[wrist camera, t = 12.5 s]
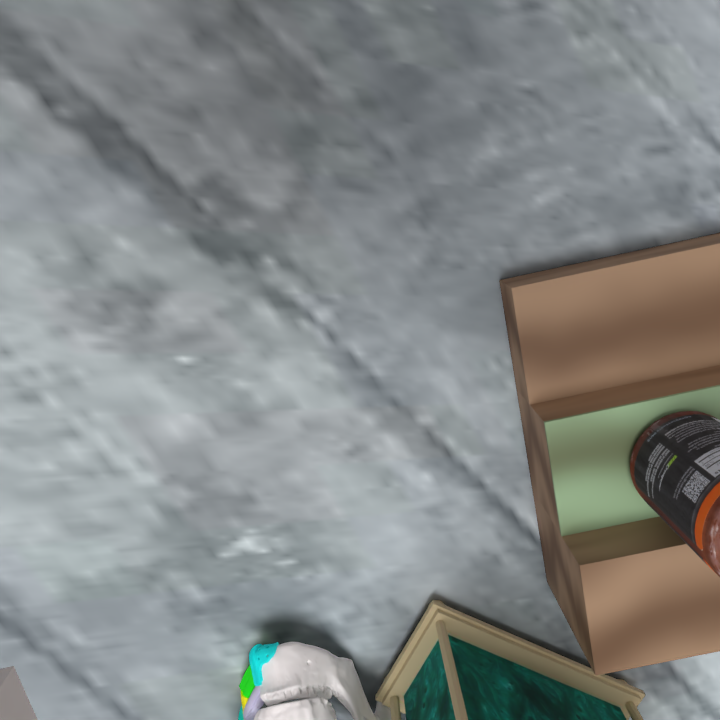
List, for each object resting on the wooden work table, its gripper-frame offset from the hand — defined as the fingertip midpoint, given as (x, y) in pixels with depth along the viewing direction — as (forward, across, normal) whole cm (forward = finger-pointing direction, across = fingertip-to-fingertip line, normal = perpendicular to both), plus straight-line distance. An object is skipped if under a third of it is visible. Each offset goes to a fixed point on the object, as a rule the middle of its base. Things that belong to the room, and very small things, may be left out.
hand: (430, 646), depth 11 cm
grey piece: (+31, -10, -26) cm, 42 cm away
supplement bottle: (+25, +15, -12) cm, 31 cm away
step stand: (+31, +17, -12) cm, 37 cm away
